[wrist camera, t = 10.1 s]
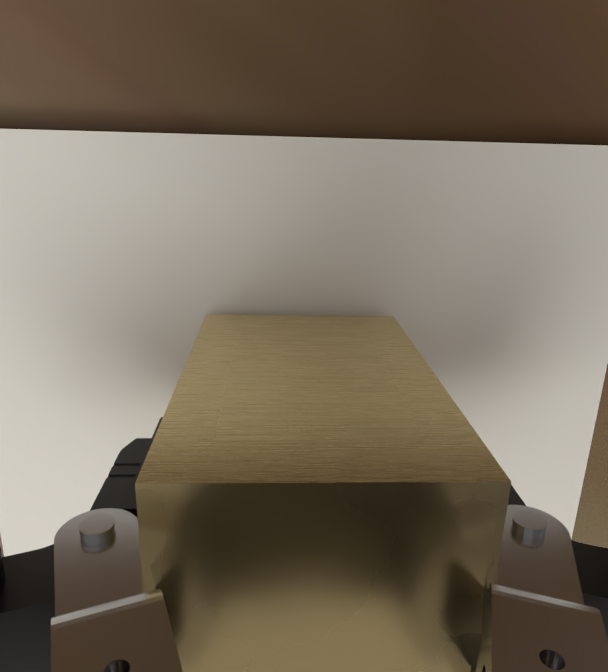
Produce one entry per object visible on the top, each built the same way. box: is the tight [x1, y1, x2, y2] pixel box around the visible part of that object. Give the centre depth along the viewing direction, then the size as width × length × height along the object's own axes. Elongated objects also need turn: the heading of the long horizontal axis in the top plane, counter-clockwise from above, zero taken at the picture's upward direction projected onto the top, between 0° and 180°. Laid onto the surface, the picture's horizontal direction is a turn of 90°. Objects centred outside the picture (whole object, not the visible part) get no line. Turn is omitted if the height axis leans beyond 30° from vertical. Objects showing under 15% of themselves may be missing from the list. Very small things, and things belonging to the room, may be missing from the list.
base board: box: [0, 129, 608, 557], centre depth 17 cm, size 18×14×2 cm
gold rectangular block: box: [135, 314, 511, 672], centre depth 12 cm, size 5×5×8 cm
